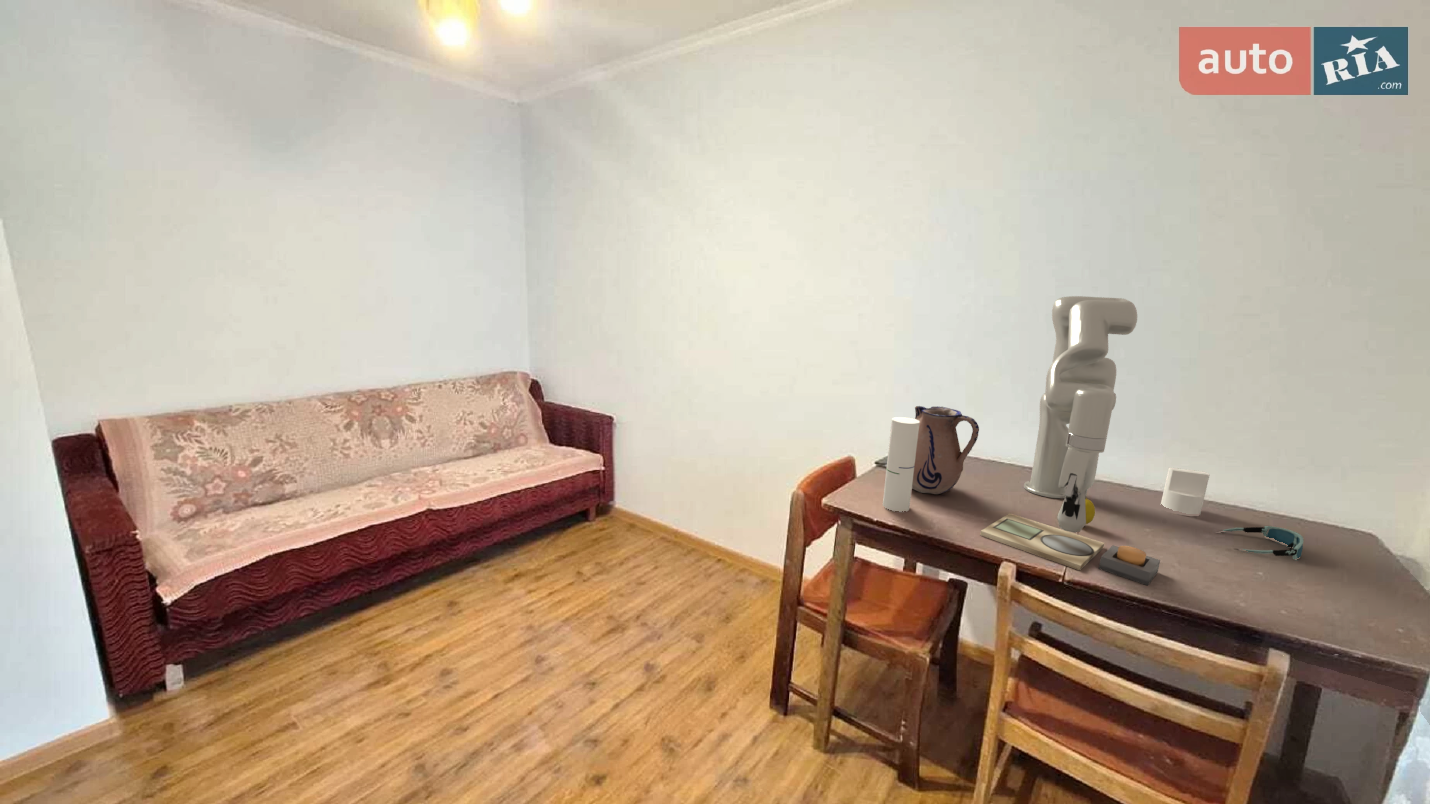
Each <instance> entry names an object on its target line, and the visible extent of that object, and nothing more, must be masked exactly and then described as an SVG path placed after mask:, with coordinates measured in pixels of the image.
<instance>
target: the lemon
mask: <svg viewBox="0 0 1430 804" xmlns="http://www.w3.org/2000/svg"><path fill="white" fill-rule="evenodd" d="M1085 510H1086V524H1085V525H1088V524H1090V523H1091V522H1092V521H1093V520H1094V518H1095V516H1096V508H1095V504H1094V503H1093V502H1092V501H1091V500H1090V499H1088V498H1087V497H1086V499H1085Z"/></svg>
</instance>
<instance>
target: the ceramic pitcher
mask: <svg viewBox="0 0 1430 804" xmlns="http://www.w3.org/2000/svg"><path fill="white" fill-rule="evenodd" d="M914 409H915V411H914V412H915V415H914V416H915V417H914V419H916V420H918V421H920V423H919V432H918V440H917V448H916V457H915V465H914V474H913V482H912V489H913V491H916V492H918V493H922V494H932V495H933V494H934V495H939V494H943V493H946V492H948V491H950V490H952V489H953V488H954V487H955V485H957V483H958V481H959V479H960V477H961V476H962V472H963V470H964V462H965V460H966V458H967V457H968V455H969V454H970V452H971V451H972V450H973V447H974V446H975V444H976V443H977V440H978V437H979V432H980V426H979V424H978V422H977V421H976V420H975V418H973V417H970V416H968V415H963V413H962V412H961V411H960V410H957V409H954V408H949V407H944V406H931V407H929V408H928V407H925V406H920V405H917V406H915V407H914ZM961 422H966V423H969V424H970V426H971V428H972V429H971V430H972V432H971V436H970V439H969V441H968V442H967V444H966V446H965V447H964V448H963V450H962V451H961V446H960V442H959V436H958V432H957V426H958V425H959V424H960V423H961Z"/></svg>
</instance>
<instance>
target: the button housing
mask: <svg viewBox="0 0 1430 804" xmlns="http://www.w3.org/2000/svg"><path fill="white" fill-rule="evenodd" d="M1118 548H1119V546H1116V545H1114V544H1113V545H1111V546H1110V547H1109V548H1108V549H1107V550H1106V551H1105V552H1104V553H1103V554H1102V555H1101V556H1100V560H1099V564H1098V570H1101V569H1102V571H1104V572H1107V573H1110V574H1113V575H1115V576H1119V577H1121V578H1124V579H1128V580H1130V581H1133V582H1136V583H1139V584H1141V585H1145V586H1149V584H1150V583H1151V582H1152V581H1153V579H1154V578H1155V577H1154V576H1156V575H1157V574H1158V573H1157V572H1159V567H1160V564H1161V559H1158V558H1154V557H1151V556H1148V555H1146V558H1145V563H1144V566H1143V567H1140V566H1137V565H1134V564H1131V563H1128V562H1125V561H1122V560H1119V559H1117V553H1118Z"/></svg>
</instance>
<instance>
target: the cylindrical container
mask: <svg viewBox="0 0 1430 804" xmlns="http://www.w3.org/2000/svg"><path fill="white" fill-rule="evenodd" d="M919 423H920V421H918V420H916V419H915V418H911V417H905V416H896V417H895V416H894V417H892V418H891V423H890V424H891V425H890V433H889V435H890V436H889V443H888V451H887V460H886V461H887V462H886V469H885V480H884V490H883V497H882V498H883V500H882V507H883V506H884V507H885V508H884V507H883V508H884V509H886V508H887V509H886V510H888V509H889V510H888V511H890V510H892V511H891V512H895V511H899V512H898V513H905V512H904V511H906V512H908V511H910V506H911V498H912V482H913V474H914V465H915V457H916V448H917V440H918V432H919ZM902 511H903V512H902Z"/></svg>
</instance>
